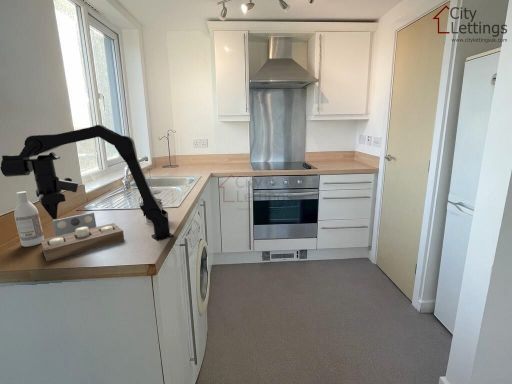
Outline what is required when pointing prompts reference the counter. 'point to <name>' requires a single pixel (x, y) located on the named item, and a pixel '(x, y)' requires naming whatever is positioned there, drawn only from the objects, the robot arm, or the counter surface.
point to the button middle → (82, 232)
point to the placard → (73, 223)
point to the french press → (157, 191)
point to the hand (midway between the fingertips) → (54, 218)
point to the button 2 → (106, 229)
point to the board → (81, 242)
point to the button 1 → (56, 241)
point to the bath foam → (27, 221)
